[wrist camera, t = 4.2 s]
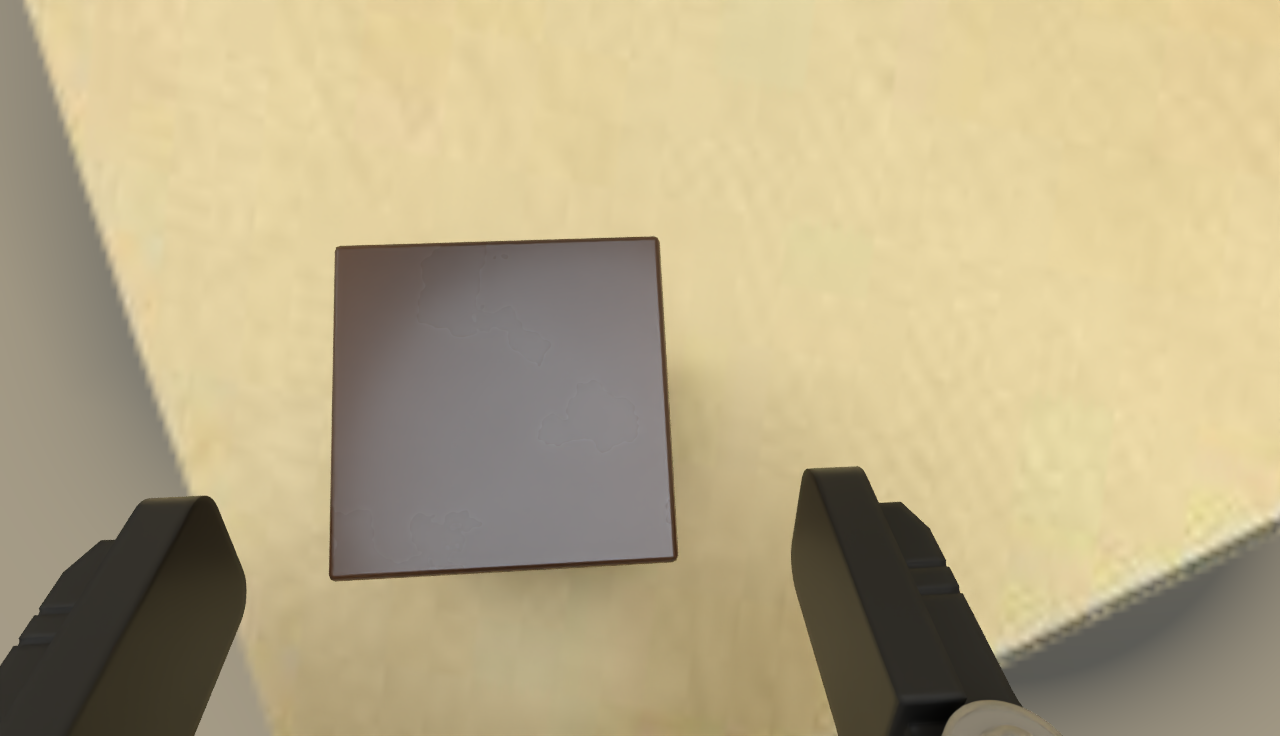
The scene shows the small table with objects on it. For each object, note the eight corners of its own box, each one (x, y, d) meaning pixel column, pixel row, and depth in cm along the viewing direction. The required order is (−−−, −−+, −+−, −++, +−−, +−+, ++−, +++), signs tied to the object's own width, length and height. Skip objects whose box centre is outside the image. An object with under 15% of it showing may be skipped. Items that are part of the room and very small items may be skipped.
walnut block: (445, 554, 18) (326, 582, 10) (443, 360, 19) (332, 244, 11) (642, 543, 18) (679, 562, 10) (632, 353, 19) (659, 234, 11)
